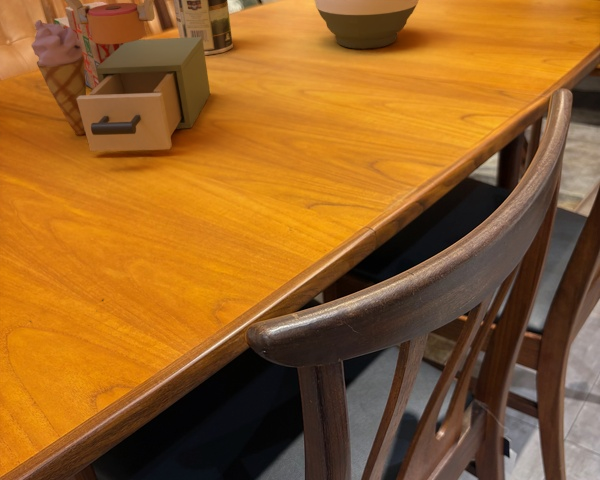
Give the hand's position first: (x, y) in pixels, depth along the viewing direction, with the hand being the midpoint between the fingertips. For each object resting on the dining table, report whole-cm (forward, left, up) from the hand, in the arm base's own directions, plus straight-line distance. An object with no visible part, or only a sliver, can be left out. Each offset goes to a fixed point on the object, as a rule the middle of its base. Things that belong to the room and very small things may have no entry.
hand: (116, 21), depth 73 cm
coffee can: (0, +47, -15) cm, 49 cm away
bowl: (+31, +47, -15) cm, 58 cm away
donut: (0, 0, -2) cm, 2 cm away
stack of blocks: (-14, +27, -15) cm, 34 cm away
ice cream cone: (-10, +4, -15) cm, 19 cm away
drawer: (0, 0, -14) cm, 14 cm away
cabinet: (0, +12, -15) cm, 19 cm away
